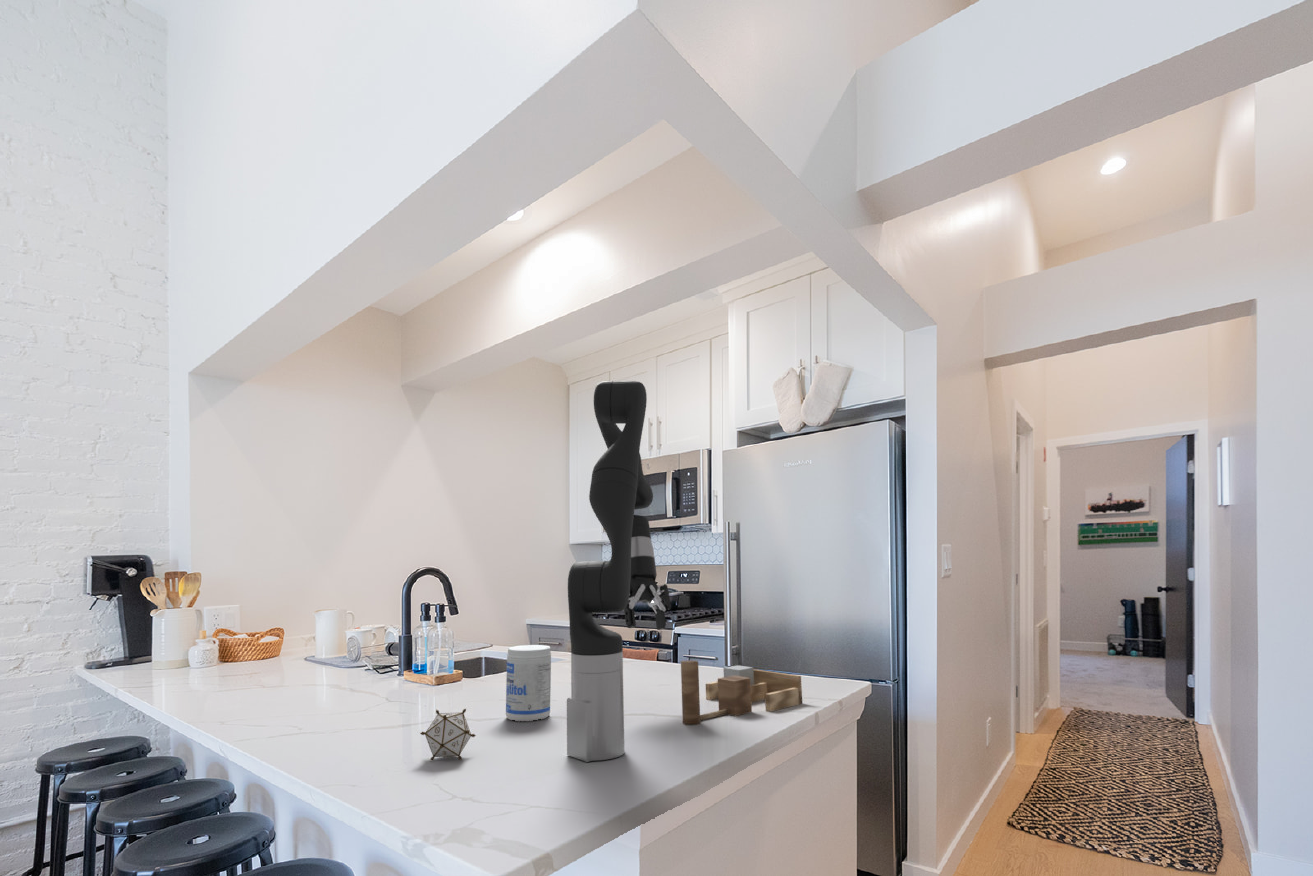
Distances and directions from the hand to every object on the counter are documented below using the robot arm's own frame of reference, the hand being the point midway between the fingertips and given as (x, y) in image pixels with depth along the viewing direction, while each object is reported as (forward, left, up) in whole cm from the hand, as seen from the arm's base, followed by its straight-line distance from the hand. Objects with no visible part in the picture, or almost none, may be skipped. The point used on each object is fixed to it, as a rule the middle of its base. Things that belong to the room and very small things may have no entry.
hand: (646, 628), depth 159 cm
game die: (-48, -3, -18) cm, 51 cm away
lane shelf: (+23, -11, -18) cm, 31 cm away
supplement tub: (-22, +14, -18) cm, 32 cm away
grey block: (+23, -6, -18) cm, 30 cm away
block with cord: (+5, -15, -18) cm, 24 cm away
